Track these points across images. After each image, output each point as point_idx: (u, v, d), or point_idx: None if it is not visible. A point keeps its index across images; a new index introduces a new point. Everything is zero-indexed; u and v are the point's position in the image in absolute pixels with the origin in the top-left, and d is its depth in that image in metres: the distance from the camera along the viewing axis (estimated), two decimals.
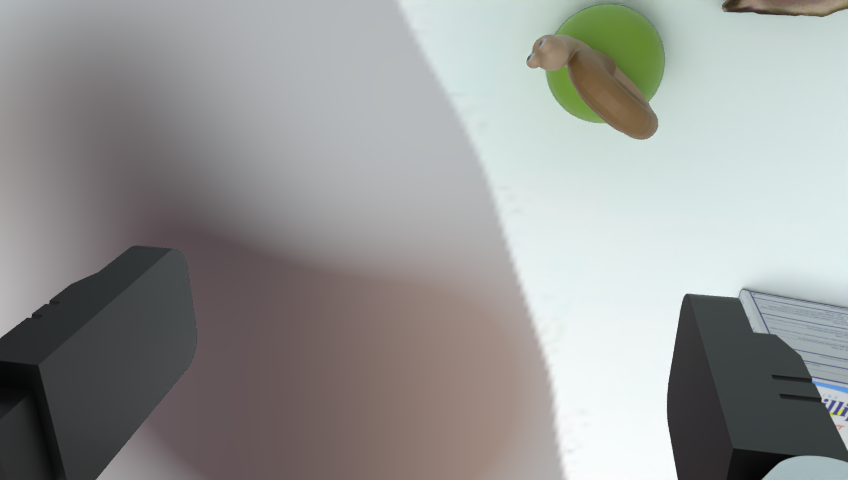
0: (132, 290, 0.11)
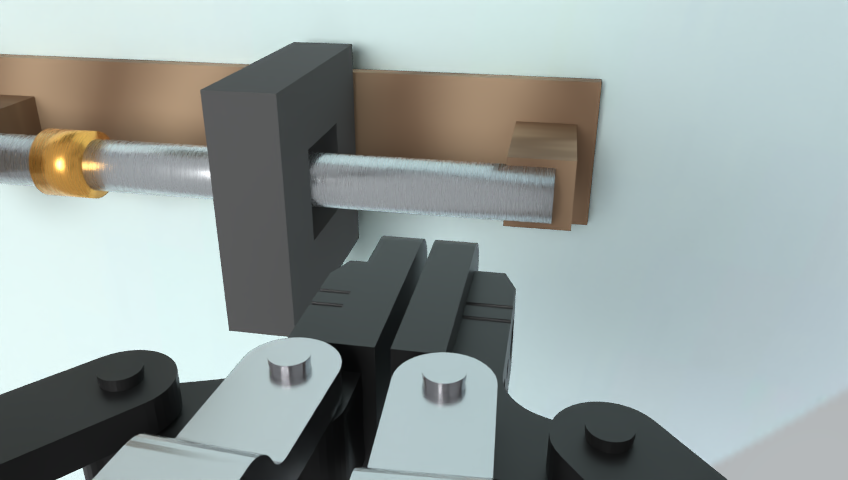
0: (408, 278, 0.11)
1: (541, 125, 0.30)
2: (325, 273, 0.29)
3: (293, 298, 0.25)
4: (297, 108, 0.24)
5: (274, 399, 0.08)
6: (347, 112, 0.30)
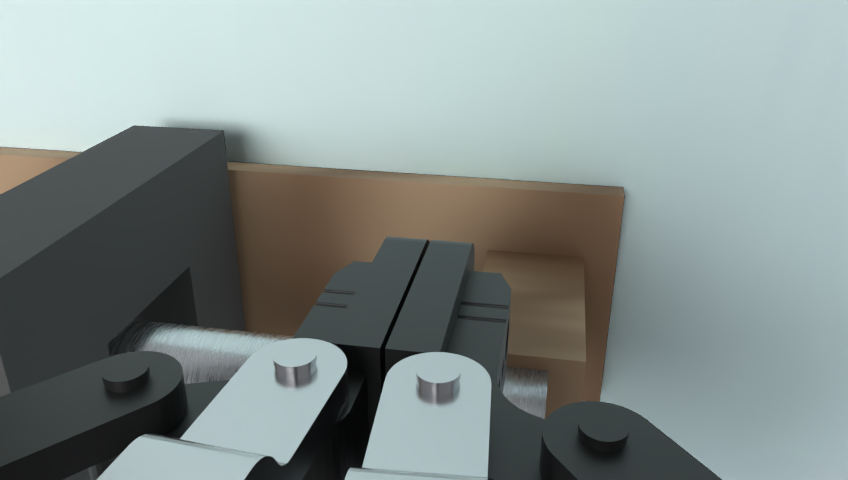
0: (412, 278, 0.11)
1: (527, 260, 0.19)
2: None
3: None
4: (68, 286, 0.13)
5: (280, 400, 0.08)
6: (217, 238, 0.19)
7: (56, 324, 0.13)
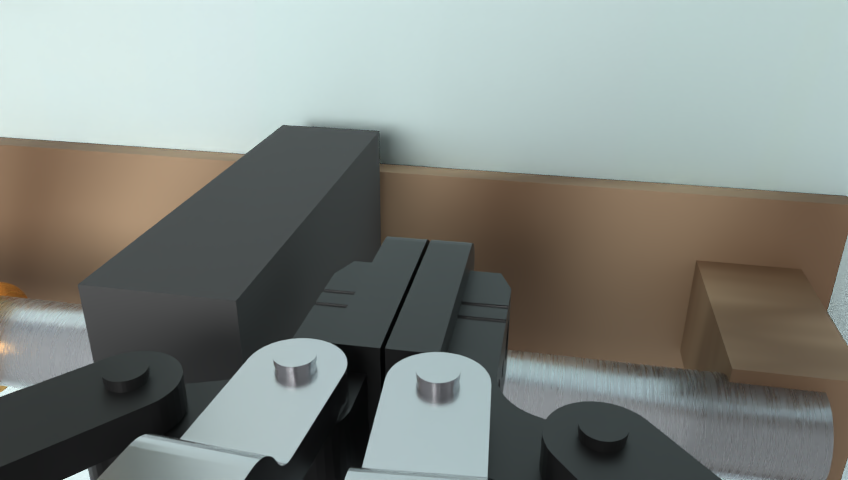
0: (412, 279, 0.11)
1: (744, 271, 0.18)
2: None
3: None
4: (284, 296, 0.12)
5: (280, 400, 0.08)
6: (370, 243, 0.18)
7: (276, 335, 0.12)
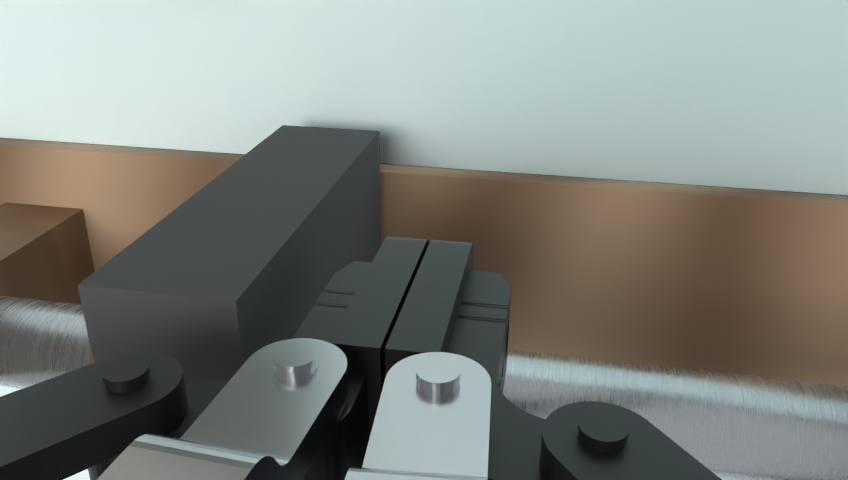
0: (412, 279, 0.11)
1: None
2: None
3: None
4: (284, 296, 0.12)
5: (280, 400, 0.08)
6: (371, 243, 0.18)
7: (276, 336, 0.12)
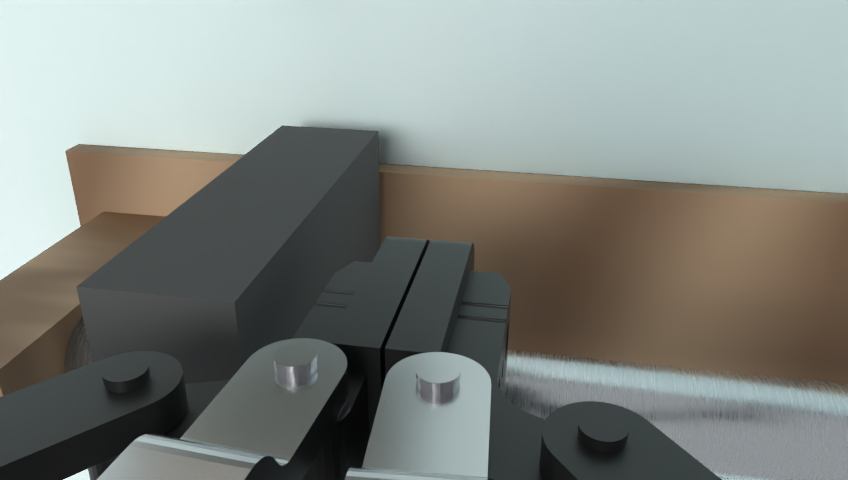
0: (412, 278, 0.11)
1: None
2: None
3: None
4: (284, 296, 0.12)
5: (280, 400, 0.08)
6: (370, 243, 0.18)
7: (276, 336, 0.12)
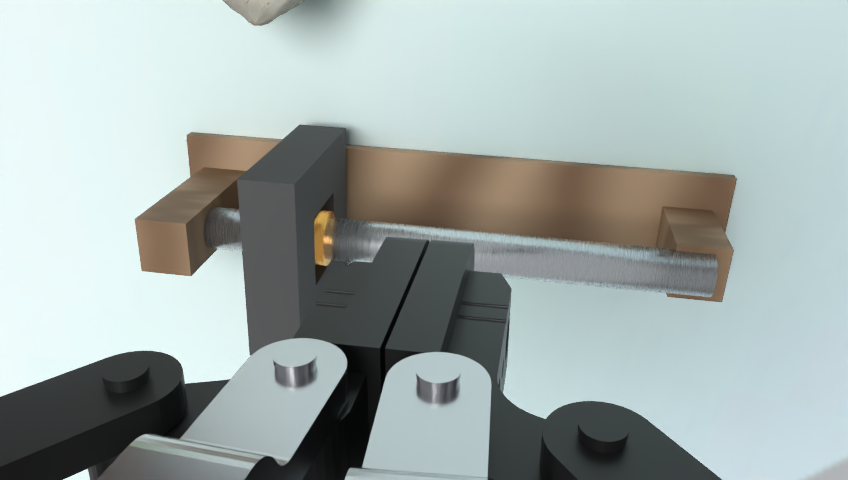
0: (412, 278, 0.11)
1: (685, 211, 0.37)
2: None
3: None
4: (307, 189, 0.32)
5: (280, 400, 0.08)
6: (341, 181, 0.38)
7: (305, 204, 0.32)
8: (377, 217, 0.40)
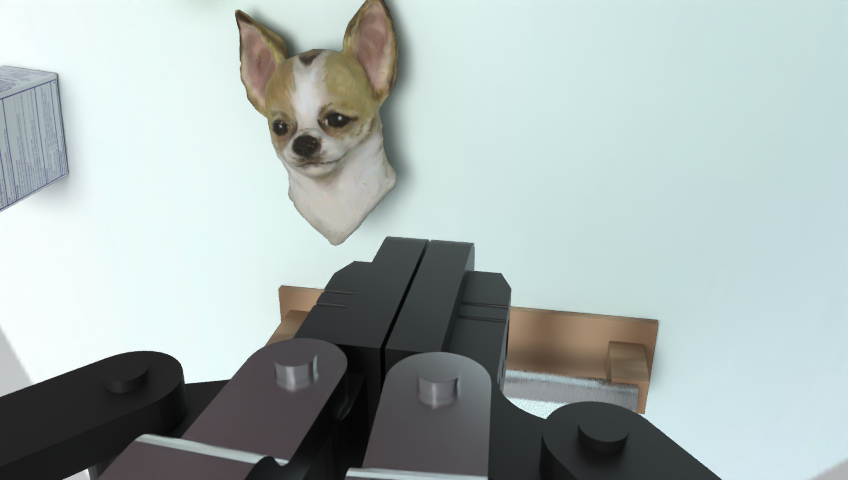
0: (412, 279, 0.11)
1: (624, 345, 0.53)
2: None
3: None
4: None
5: (280, 400, 0.08)
6: None
7: None
8: None
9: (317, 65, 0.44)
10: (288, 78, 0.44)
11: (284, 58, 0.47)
